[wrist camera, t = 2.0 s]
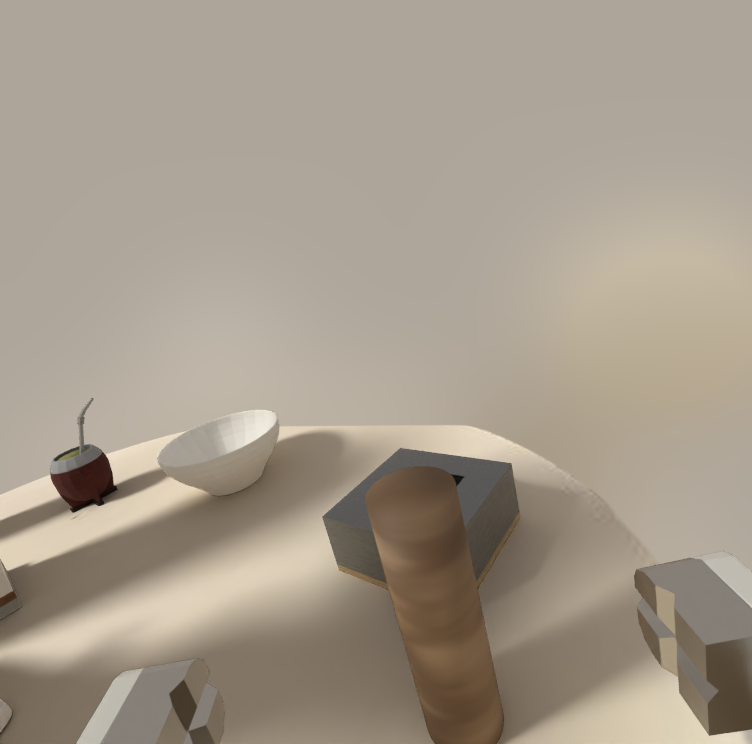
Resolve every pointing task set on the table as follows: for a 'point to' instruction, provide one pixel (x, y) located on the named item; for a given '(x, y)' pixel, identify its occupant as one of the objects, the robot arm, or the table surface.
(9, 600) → the striped white pillar
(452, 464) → the socket block
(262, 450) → the bowl
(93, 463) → the mate gourd
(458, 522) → the walnut pin
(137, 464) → the table surface
